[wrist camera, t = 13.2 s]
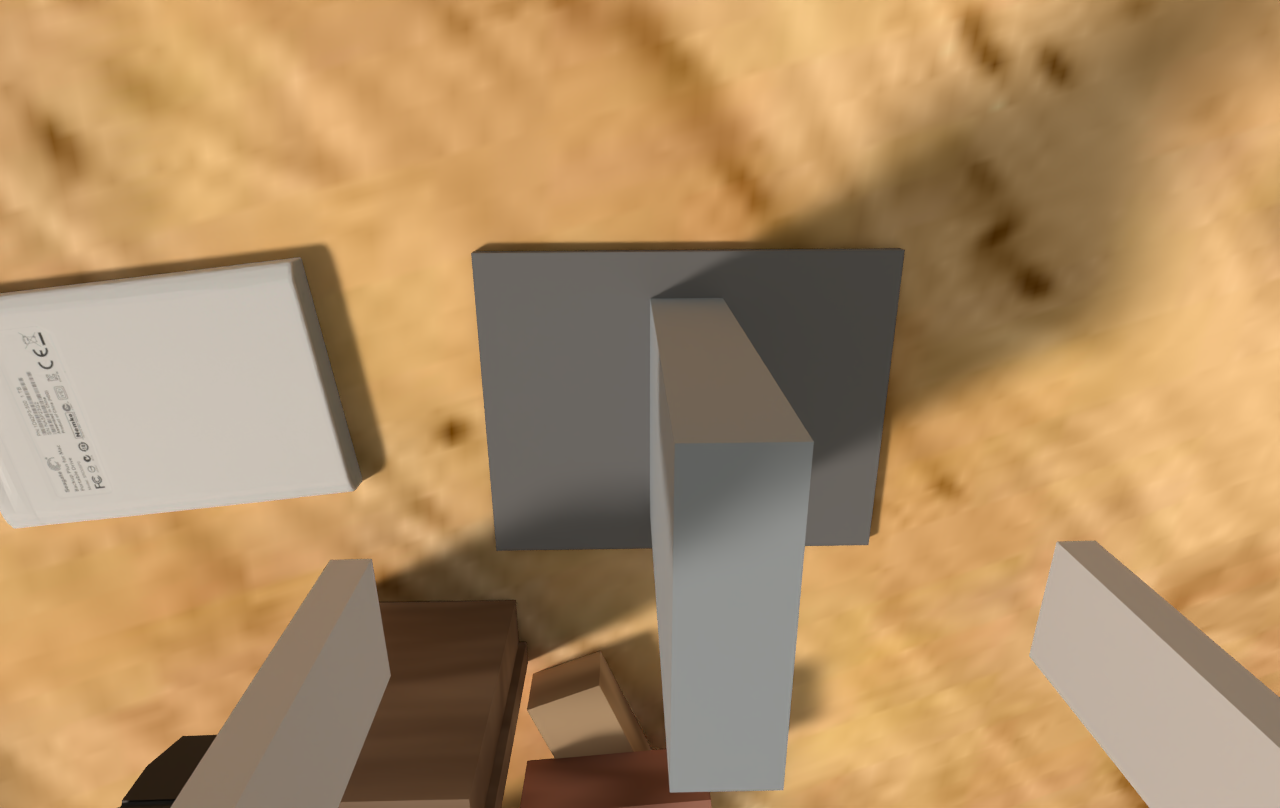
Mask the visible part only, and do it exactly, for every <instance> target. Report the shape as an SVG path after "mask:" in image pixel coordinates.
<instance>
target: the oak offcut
mask: <svg viewBox="0 0 1280 808" xmlns="http://www.w3.org/2000/svg"><path fill="white" fill-rule="evenodd" d="M527 711H528V713H529V714H530V716H531V718H532V720H533V721H534V723H535V725H536V726H537V728H538V730H539V732H540V733H541V735H542V737H543V739H544V740H545V742H546V744H547V745H548V747H549V749H550V751H551V752H552V754H553V756H554V758H555V759H558V758H569V757H580V756H591V755H602V754H613V753H624V752H636V751H648V750H652V749H651V747H650V746H649V744H648V742H647V740H646V738H645V736H644V734H643V732H642V730H641V728H640V726H639V724H638V722H637V720H636V718H635V716H634V715H633V713H632V711H631V709H630V707H629V705H628V703H627V701H626V699H625V697H624V695H623V693H622V691H621V689H620V687H619V685H618V684H617V682H616V680H615V678H614V676H613V674H612V672H611V670H610V668H609V666H608V664H607V662H606V660H605V658H604V656H603V654H602V652H601V651H598V652H595V653H592V654H589V655H587V656H584V657H581V658H578V659H575V660H572V661H569V662H566V663H563V664H560V665H558V666H555V667H552V668H549V669H546V670H543V671H540V672H537V673H534V674H533V677H532V683H531V690H530V696H529V702H528V708H527Z"/></svg>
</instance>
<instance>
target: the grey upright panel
mask: <svg viewBox="0 0 1280 808" xmlns="http://www.w3.org/2000/svg"><path fill="white" fill-rule="evenodd" d="M813 445H814V441H813V440H812V438H811V437H810V435H809V433H808V432H807V430H806V429H805V427H804V426H803V424H802V422H801V421H800V419H799V418H798V416H797V414H796V413H795V411H794V410H793V408H792V407H791V405H790V403H789V402H788V400H787V399H786V397H785V396H784V394H783V392H782V391H781V389H780V388H779V386H778V384H777V383H776V381H775V380H774V378H773V377H772V375H771V373H770V372H769V370H768V369H767V367H766V365H765V364H764V362H763V361H762V359H761V358H760V356H759V354H758V353H757V351H756V350H755V348H754V347H753V345H752V343H751V342H750V340H749V339H748V337H747V335H746V334H745V332H744V331H743V329H742V328H741V326H740V324H739V323H738V321H737V320H736V318H735V316H734V315H733V313H732V312H731V310H730V309H729V307H728V305H727V304H726V302H725V301H724V299H723V298H651V299H650V522H651V536H652V550H653V564H654V578H655V592H656V606H657V620H658V634H659V648H660V662H661V676H662V690H663V704H664V718H665V732H666V747H667V761H668V775H669V789H670V793H673V792H719V791H765V790H783V788H784V776H785V765H786V753H787V742H788V731H789V719H790V708H791V696H792V685H793V673H794V662H795V651H796V639H797V628H798V616H799V605H800V594H801V582H802V571H803V559H804V548H805V536H806V525H807V514H808V502H809V491H810V479H811V468H812V457H813Z"/></svg>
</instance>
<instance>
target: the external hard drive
mask: <svg viewBox="0 0 1280 808" xmlns="http://www.w3.org/2000/svg"><path fill="white" fill-rule="evenodd" d="M361 482H362V476H361V472H360V469H359V465H358V462H357V458H356V454H355V451H354V447H353V444H352V440H351V437H350V433H349V429H348V426H347V422H346V419H345V415H344V411H343V408H342V404H341V401H340V397H339V393H338V390H337V386H336V382H335V379H334V375H333V372H332V368H331V364H330V361H329V357H328V354H327V350H326V346H325V343H324V339H323V336H322V332H321V328H320V325H319V321H318V317H317V314H316V310H315V306H314V303H313V299H312V295H311V292H310V288H309V284H308V281H307V277H306V274H305V270H304V266H303V262H302V259H301V258H300V257H296V258H289V259H281V260H272V261H263V262H255V263H246V264H239V265H231V266H223V267H215V268H207V269H198V270H190V271H182V272H173V273H165V274H156V275H148V276H140V277H132V278H123V279H114V280H106V281H98V282H90V283H81V284H73V285H64V286H56V287H47V288H39V289H31V290H23V291H14V292H6V293H0V512H1V514H2V515H3V517H4V519H5V520H6V521H7V523H8V524H9V525H11V526H12V527H13V528H24V527H34V526H42V525H49V524H61V523H71V522H80V521H89V520H100V519H108V518H119V517H128V516H137V515H145V514H154V513H164V512H173V511H181V510H191V509H200V508H209V507H218V506H228V505H237V504H246V503H255V502H264V501H273V500H281V499H290V498H298V497H306V496H315V495H325V494H333V493H343V492H351V491H354V490H356V489H357V487H358V486H359V485H360V483H361Z"/></svg>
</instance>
